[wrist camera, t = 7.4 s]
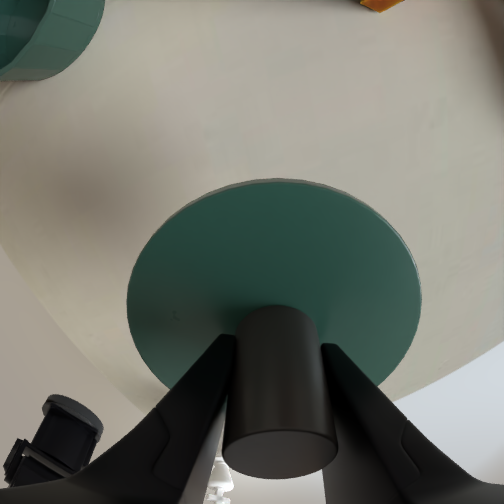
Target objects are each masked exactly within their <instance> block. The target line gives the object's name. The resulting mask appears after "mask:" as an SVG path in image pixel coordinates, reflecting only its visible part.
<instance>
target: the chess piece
mask: <svg viewBox="0 0 504 504" xmlns="http://www.w3.org/2000/svg"><path fill="white" fill-rule="evenodd" d="M224 423H225V421H224ZM223 432H224V425H223V429H222V433H221V437H220V440H219V444H218V448H217V454H216V456H215V459H214V463H213V465H214V466H215V468H214V469H213V471H212V473H211V475H210V478H209V482H208V486H207V487H208V488H210V489H211V490H214V491H215V495H213V494H207V496H206V500H209V501H213V502H214V504H230V500H231V499H229V498H225V497H223V492H226V491H230V490H232V489H233V487H234V485H233V481H232V479H231V475H230V471H229V466H228V465H227V464H226V463H225V462H224V460H223V458H222V455H221V450H222V441H223Z"/></svg>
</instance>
